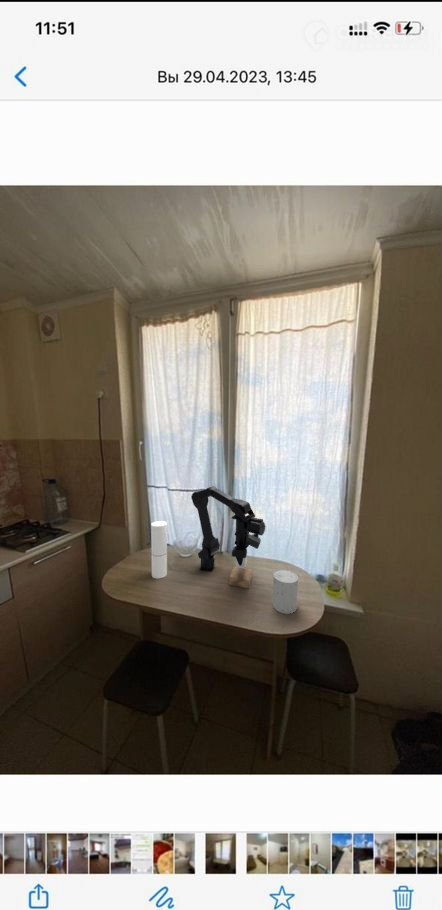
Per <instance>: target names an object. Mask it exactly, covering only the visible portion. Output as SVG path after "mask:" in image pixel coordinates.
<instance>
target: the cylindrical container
mask: <svg viewBox="0 0 442 910" xmlns="http://www.w3.org/2000/svg"><path fill="white" fill-rule="evenodd" d="M167 525H168V522H167V521H164V520H157V521H154V522H153V521H152V522H151V526H150V528H151V529H150V530H151V531H150V534H151V536H150V537H151V539H150V541H151V542H150V543H151V544H150V545H151V546H150V547H151V577H152V578H153V579H162V578H164V577H167V574H168V526H167Z"/></svg>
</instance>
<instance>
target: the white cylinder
mask: <svg viewBox="0 0 442 910" xmlns="http://www.w3.org/2000/svg"><path fill="white" fill-rule="evenodd" d="M272 576H273V580H272V602H271V603H272V607H273V608H274V609H275V610H276V611H278V613H281V614H284V615H288V614H289V615H290V613H291V614H293V612H294V613H295V612H297V610H298V609H297V608H298V588H299V584H298V582H299V575H298V574H296V572H294V571H292V570H289V569H284V568H281V569H279V568H278V569H276V570H275V571H273V573H272ZM296 609H297V610H296Z"/></svg>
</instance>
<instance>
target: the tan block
mask: <svg viewBox="0 0 442 910" xmlns="http://www.w3.org/2000/svg"><path fill="white" fill-rule="evenodd" d="M252 580H253V569H250V568H241V567H236V566H233V568H232V570H231V573H230V575H229V580H228V581H229V586H235V587H238V588H239V587H240V588H244V589H245V588H246V589H250V586H251V584H252Z"/></svg>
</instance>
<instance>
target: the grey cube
mask: <svg viewBox="0 0 442 910" xmlns="http://www.w3.org/2000/svg"><path fill="white" fill-rule="evenodd" d="M247 557H248V555H247V556H246V558H243V562H242V566H240V565H239V564H238V561H237V559H236V558H235V567H239V568H245V569H247V568H246V566H247Z"/></svg>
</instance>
